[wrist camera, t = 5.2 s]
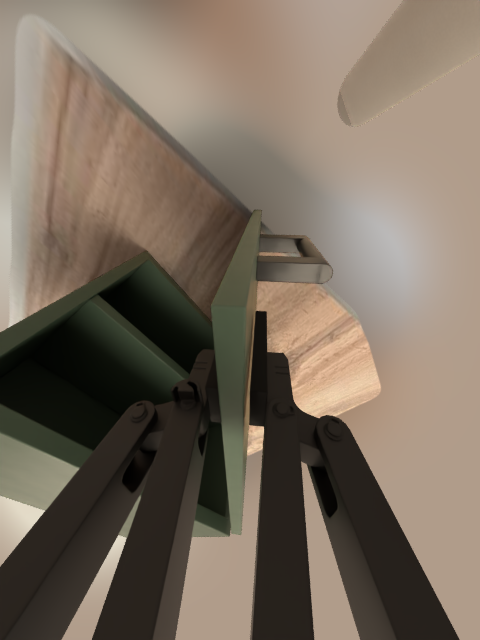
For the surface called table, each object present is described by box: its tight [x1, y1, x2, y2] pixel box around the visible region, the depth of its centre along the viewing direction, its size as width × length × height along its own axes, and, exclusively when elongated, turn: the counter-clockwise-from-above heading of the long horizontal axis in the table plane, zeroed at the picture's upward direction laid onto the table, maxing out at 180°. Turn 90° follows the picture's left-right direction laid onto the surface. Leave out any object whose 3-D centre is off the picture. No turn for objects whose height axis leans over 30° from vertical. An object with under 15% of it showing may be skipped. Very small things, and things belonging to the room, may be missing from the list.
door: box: [211, 210, 333, 535], centre depth 22 cm, size 7×26×24 cm, turn 0°
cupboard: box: [0, 251, 231, 538], centre depth 29 cm, size 18×26×24 cm
